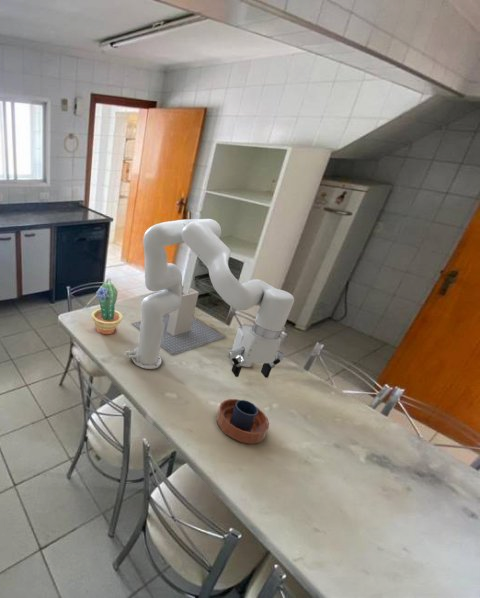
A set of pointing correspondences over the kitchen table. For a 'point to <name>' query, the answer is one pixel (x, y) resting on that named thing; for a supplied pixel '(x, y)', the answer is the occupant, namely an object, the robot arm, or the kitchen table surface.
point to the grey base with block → (185, 327)
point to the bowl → (250, 437)
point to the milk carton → (239, 337)
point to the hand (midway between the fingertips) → (249, 374)
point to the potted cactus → (106, 309)
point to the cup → (244, 415)
